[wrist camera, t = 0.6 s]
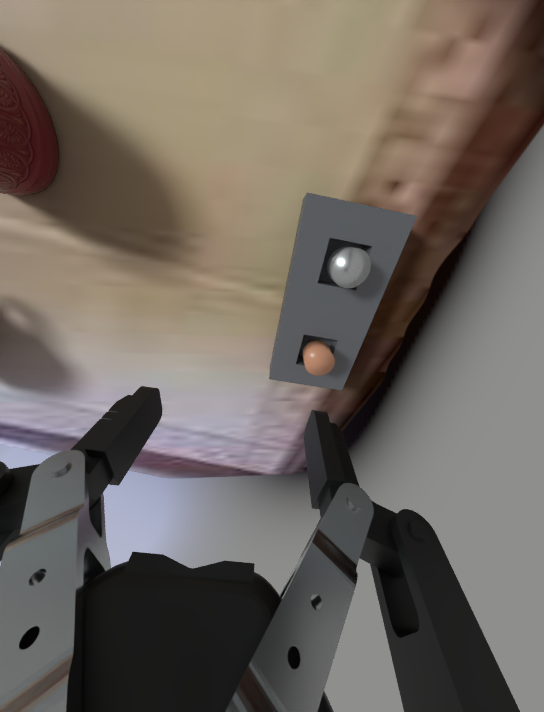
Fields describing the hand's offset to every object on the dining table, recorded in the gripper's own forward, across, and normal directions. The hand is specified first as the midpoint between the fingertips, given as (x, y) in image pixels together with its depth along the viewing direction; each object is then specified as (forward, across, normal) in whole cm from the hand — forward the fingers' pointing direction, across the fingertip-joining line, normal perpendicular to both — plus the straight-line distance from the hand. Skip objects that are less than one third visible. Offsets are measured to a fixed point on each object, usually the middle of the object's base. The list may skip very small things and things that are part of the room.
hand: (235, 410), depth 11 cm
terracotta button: (+19, -9, +6) cm, 22 cm away
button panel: (+23, -9, 0) cm, 25 cm away
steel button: (+19, -9, -6) cm, 22 cm away
